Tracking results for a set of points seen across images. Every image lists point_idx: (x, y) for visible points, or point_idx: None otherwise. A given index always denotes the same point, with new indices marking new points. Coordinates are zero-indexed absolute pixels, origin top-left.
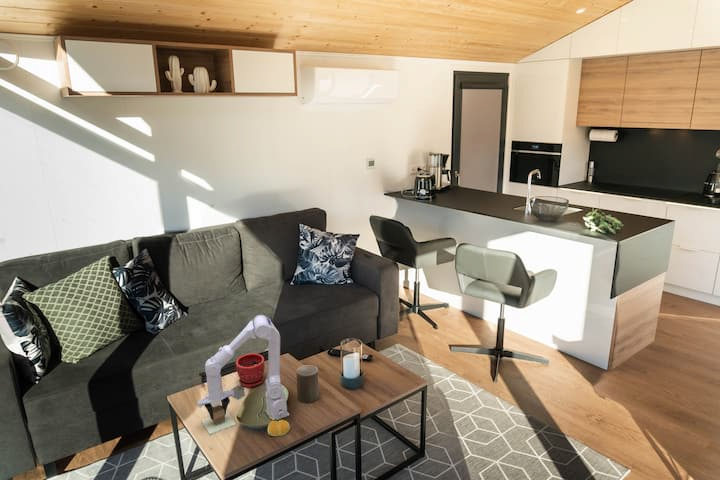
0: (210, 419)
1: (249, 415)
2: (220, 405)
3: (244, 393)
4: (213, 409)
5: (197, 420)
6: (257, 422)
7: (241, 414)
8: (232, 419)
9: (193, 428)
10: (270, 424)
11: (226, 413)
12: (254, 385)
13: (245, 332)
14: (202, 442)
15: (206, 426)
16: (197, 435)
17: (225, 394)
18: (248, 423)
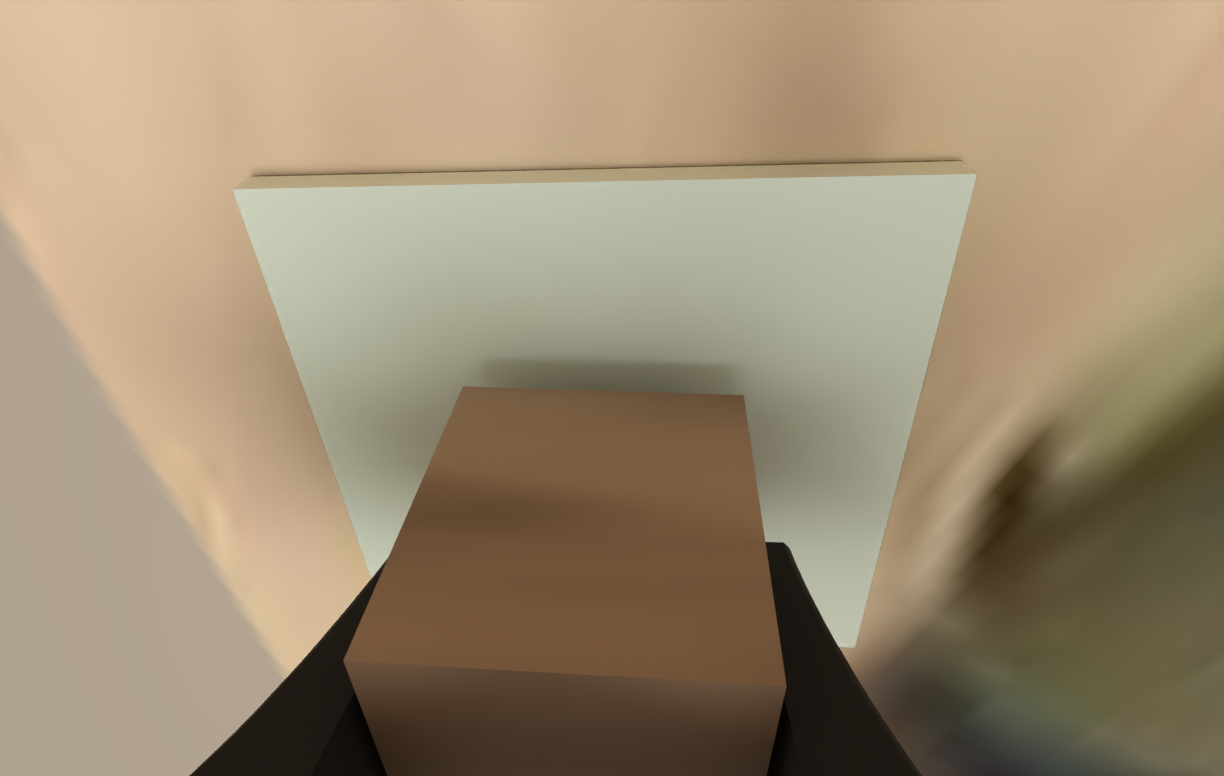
0: (458, 291)
1: (1221, 535)
2: (748, 717)
3: None
4: (453, 754)
5: (133, 60)
6: (1141, 714)
7: (1142, 432)
8: (874, 532)
9: (87, 324)
10: None
11: (896, 275)
12: None
13: None
14: (286, 671)
15: (348, 461)
16: (199, 531)
17: None
18: (1025, 674)
